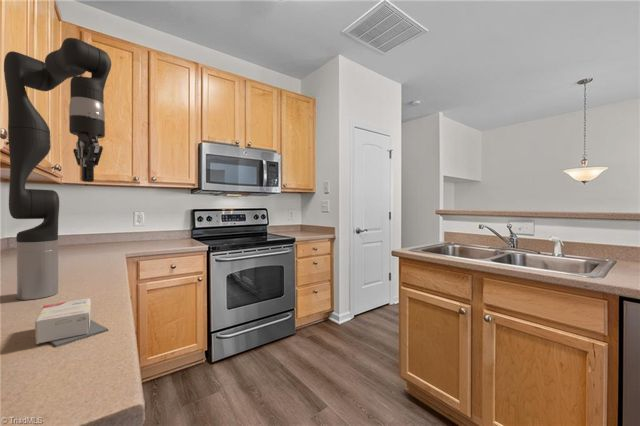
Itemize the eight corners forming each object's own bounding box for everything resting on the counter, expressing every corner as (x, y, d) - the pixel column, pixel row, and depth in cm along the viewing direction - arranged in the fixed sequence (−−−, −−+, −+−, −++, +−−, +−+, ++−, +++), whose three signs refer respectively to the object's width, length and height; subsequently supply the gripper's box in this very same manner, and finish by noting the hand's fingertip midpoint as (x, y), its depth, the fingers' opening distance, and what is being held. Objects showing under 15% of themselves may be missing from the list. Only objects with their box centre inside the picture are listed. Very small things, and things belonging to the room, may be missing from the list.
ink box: (44, 325, 66) (33, 345, 57) (43, 304, 66) (33, 321, 56) (91, 317, 71) (89, 334, 62) (90, 297, 71) (88, 311, 62)
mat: (36, 332, 63) (36, 330, 63) (86, 319, 71) (86, 317, 71) (56, 346, 57) (56, 344, 57) (108, 330, 65) (108, 328, 65)
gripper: (60, 118, 78) (61, 181, 78) (80, 110, 71) (80, 179, 71) (93, 125, 84) (94, 183, 85) (114, 118, 77) (114, 181, 78)
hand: (87, 181), depth 78 cm, fingers closed
